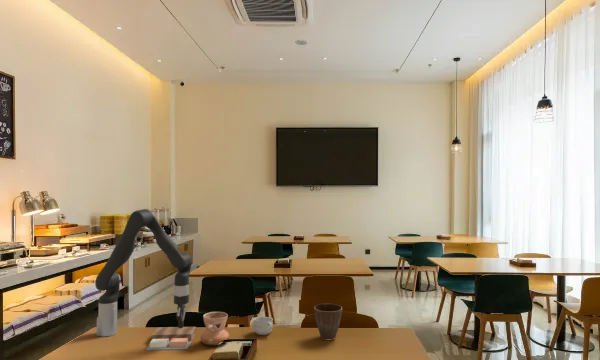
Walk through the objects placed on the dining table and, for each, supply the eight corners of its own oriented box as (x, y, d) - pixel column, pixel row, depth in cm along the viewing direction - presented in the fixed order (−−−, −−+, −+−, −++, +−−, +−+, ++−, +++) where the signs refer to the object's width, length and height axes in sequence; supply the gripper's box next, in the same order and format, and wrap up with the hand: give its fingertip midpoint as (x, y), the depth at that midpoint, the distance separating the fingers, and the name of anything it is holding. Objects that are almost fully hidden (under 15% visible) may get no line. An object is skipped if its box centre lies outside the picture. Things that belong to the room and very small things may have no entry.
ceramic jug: (222, 349, 197) (223, 320, 198) (194, 347, 199) (195, 318, 200) (234, 337, 215) (235, 310, 216) (208, 336, 217) (209, 309, 218)
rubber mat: (145, 350, 196) (145, 349, 196) (151, 343, 206) (151, 342, 206) (187, 349, 198) (187, 348, 198) (191, 342, 207) (191, 341, 207)
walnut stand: (151, 343, 206) (151, 335, 206) (158, 334, 218) (158, 327, 218) (191, 342, 208) (191, 334, 208) (195, 334, 219) (195, 326, 220)
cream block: (152, 338, 204) (152, 344, 203) (149, 342, 199) (149, 347, 198) (169, 338, 204) (169, 343, 204) (166, 342, 199) (166, 347, 199)
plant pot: (347, 340, 210) (347, 309, 210) (321, 344, 204) (321, 312, 205) (334, 331, 223) (334, 302, 224) (309, 335, 218) (309, 305, 219)
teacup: (250, 331, 223) (250, 317, 224) (268, 329, 228) (269, 314, 228) (258, 339, 211) (258, 324, 211) (278, 336, 215) (278, 321, 216)
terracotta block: (172, 338, 204) (171, 343, 204) (169, 341, 199) (169, 347, 199) (188, 338, 205) (188, 343, 205) (186, 341, 200) (185, 346, 200)
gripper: (177, 290, 213) (176, 323, 213) (170, 297, 200) (170, 332, 199) (191, 290, 214) (190, 323, 213) (186, 296, 200) (185, 332, 200)
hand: (180, 327), depth 206 cm, fingers closed
